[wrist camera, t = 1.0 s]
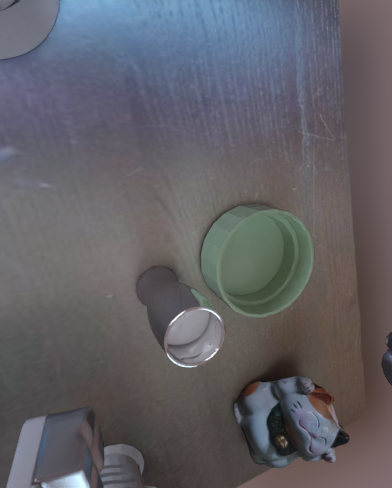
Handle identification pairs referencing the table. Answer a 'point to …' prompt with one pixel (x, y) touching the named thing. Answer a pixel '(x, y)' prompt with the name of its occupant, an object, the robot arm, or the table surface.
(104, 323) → the table surface
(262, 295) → the green pan
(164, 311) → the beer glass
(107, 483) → the french press
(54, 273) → the table surface
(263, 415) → the lucky cat figurine
